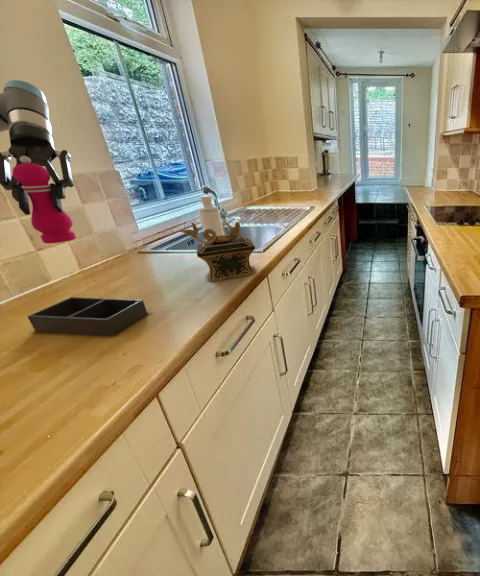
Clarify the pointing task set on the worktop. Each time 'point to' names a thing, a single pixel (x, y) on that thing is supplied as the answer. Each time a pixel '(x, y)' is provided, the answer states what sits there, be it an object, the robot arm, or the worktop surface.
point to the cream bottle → (210, 216)
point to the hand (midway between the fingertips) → (41, 209)
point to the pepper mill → (43, 203)
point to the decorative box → (224, 252)
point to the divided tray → (88, 316)
